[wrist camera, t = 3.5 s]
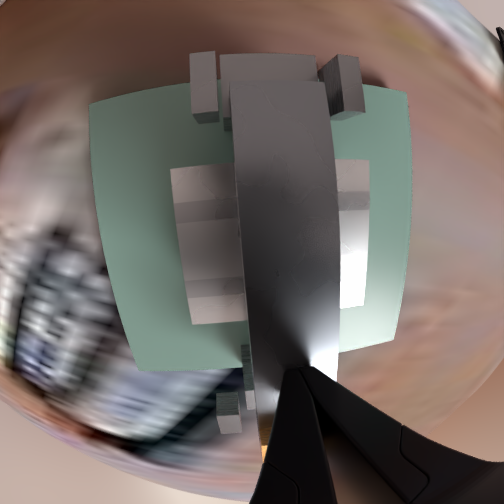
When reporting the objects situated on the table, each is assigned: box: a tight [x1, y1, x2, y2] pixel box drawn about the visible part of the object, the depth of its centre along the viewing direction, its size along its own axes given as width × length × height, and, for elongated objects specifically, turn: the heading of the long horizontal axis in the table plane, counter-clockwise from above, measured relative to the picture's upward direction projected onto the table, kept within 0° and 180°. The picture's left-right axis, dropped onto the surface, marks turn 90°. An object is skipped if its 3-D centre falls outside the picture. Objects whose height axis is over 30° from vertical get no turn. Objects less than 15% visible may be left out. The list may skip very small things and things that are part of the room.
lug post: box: [217, 344, 256, 434], centre depth 11 cm, size 4×1×6 cm, turn 93°
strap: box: [229, 80, 341, 463], centre depth 7 cm, size 11×2×2 cm, turn 3°
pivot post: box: [189, 51, 366, 131], centre depth 8 cm, size 4×2×6 cm, turn 93°
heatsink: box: [170, 159, 370, 325], centre depth 10 cm, size 6×5×3 cm
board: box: [89, 79, 412, 371], centre depth 12 cm, size 14×13×1 cm
